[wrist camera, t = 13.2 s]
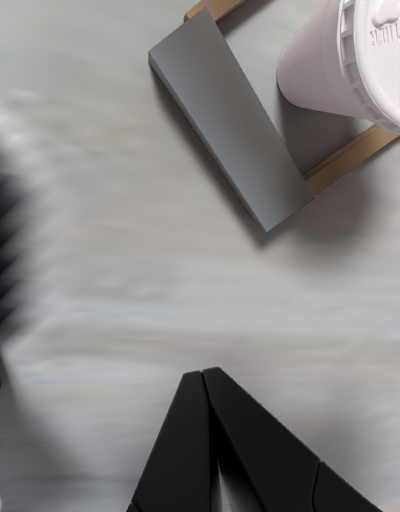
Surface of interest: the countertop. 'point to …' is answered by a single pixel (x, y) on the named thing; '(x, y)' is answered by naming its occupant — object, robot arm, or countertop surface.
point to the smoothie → (346, 62)
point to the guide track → (243, 120)
